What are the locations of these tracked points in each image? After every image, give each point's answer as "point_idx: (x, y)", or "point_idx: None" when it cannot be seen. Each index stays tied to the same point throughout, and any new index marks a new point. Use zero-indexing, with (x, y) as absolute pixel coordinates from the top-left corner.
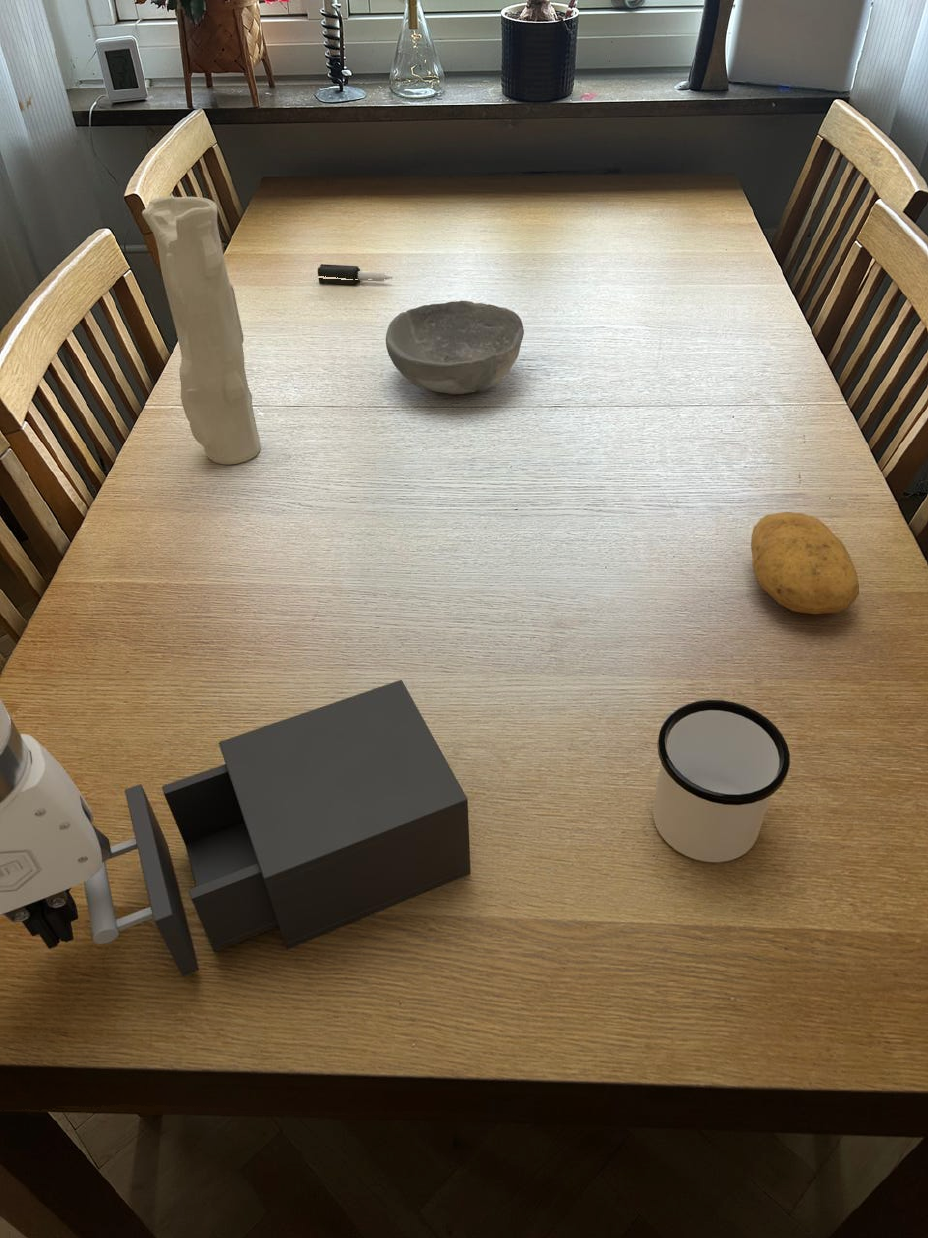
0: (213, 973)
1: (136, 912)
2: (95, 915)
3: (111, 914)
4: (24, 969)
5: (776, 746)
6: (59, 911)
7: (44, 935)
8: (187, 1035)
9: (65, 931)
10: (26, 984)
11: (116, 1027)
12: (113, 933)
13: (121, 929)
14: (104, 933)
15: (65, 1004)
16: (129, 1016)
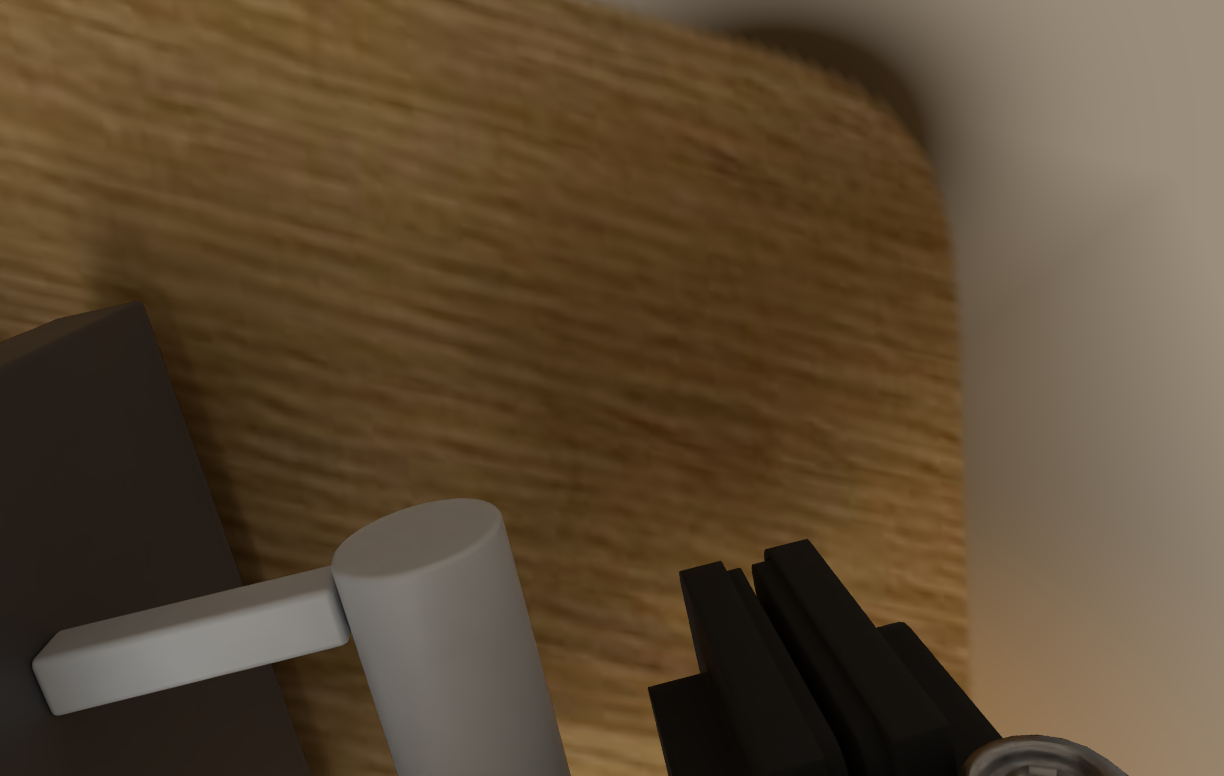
0: (27, 315)
1: (189, 679)
2: (481, 701)
3: (373, 691)
4: (909, 498)
5: None
6: (743, 764)
7: (836, 613)
8: (124, 11)
9: (710, 621)
10: (899, 430)
11: (491, 139)
12: (364, 550)
13: (319, 572)
14: (412, 555)
15: (731, 305)
16: (433, 181)
